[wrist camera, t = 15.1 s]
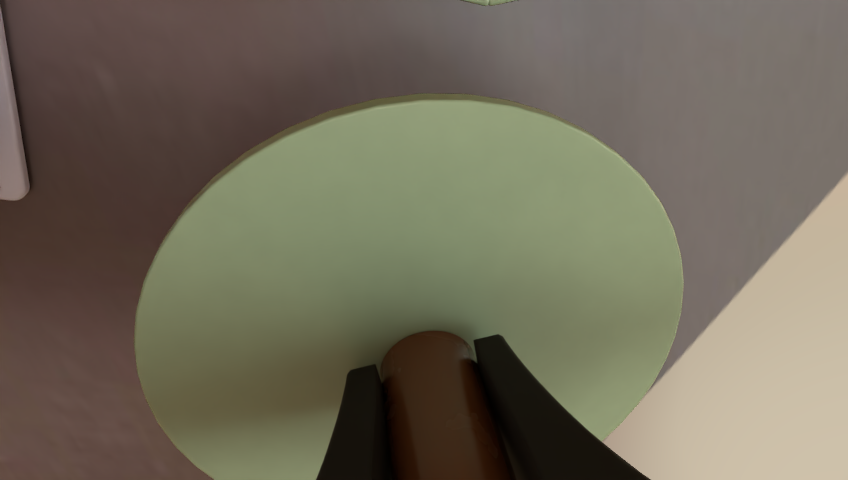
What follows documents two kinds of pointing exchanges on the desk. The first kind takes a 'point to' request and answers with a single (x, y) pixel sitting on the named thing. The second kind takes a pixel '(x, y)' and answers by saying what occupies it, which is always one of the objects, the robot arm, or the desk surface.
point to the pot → (488, 2)
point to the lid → (405, 286)
